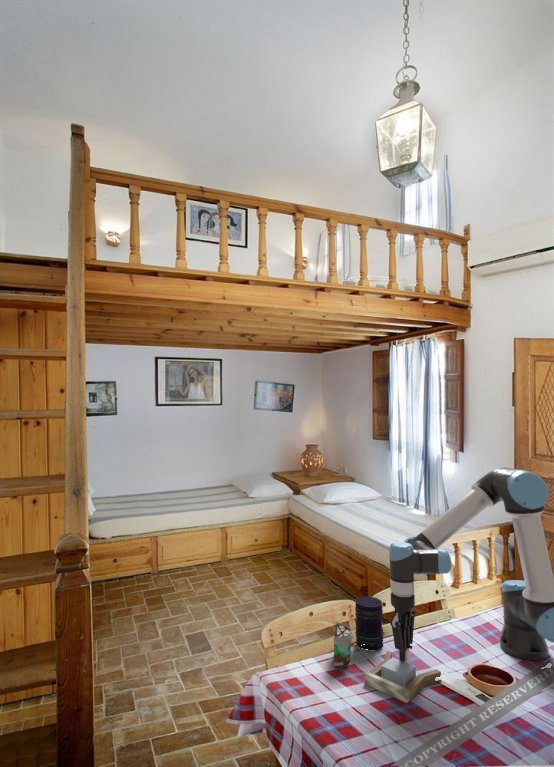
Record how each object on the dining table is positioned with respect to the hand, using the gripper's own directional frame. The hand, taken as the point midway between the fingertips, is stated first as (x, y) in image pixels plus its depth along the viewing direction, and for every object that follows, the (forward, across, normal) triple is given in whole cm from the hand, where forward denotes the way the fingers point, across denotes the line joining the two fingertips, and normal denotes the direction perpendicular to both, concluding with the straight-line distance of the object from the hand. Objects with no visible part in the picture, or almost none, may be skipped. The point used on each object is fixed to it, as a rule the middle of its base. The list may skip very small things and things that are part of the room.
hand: (404, 670), depth 138 cm
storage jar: (+2, -10, -19) cm, 21 cm away
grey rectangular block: (+2, +4, 0) cm, 5 cm away
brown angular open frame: (+2, +3, 0) cm, 4 cm away
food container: (+2, +6, -19) cm, 20 cm away
